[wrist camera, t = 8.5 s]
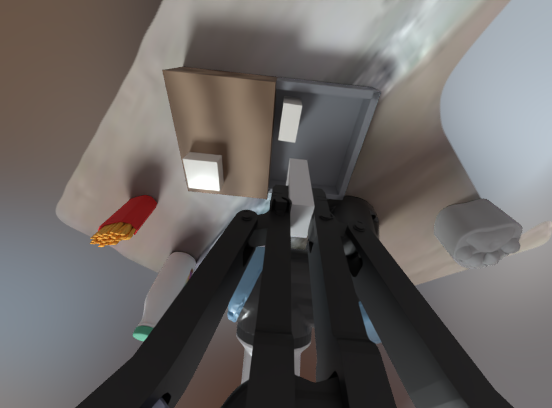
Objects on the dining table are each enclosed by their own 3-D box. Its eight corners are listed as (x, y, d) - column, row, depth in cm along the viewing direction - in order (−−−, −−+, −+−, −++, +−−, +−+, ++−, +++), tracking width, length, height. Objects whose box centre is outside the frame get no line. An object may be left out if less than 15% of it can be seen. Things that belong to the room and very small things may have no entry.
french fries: (135, 213, 48) (97, 253, 39) (123, 200, 46) (79, 239, 36) (165, 205, 46) (132, 246, 37) (153, 191, 44) (116, 231, 34)
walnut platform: (277, 77, 30) (275, 82, 25) (269, 181, 41) (266, 199, 36) (182, 66, 30) (162, 70, 25) (200, 174, 41) (188, 191, 36)
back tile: (221, 155, 31) (217, 162, 29) (223, 182, 34) (219, 190, 32) (189, 151, 31) (182, 158, 29) (194, 179, 34) (188, 187, 32)
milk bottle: (163, 254, 57) (115, 333, 41) (184, 248, 55) (142, 328, 39) (181, 269, 61) (144, 346, 46) (202, 264, 59) (170, 343, 43)
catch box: (371, 87, 30) (381, 91, 27) (338, 188, 41) (342, 200, 38) (277, 77, 30) (276, 80, 27) (269, 181, 41) (267, 192, 38)
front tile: (284, 95, 30) (300, 98, 30) (279, 129, 33) (294, 131, 34) (283, 102, 26) (302, 105, 27) (278, 140, 29) (295, 142, 30)
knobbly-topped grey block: (495, 195, 40) (538, 225, 33) (481, 238, 47) (514, 270, 40) (436, 208, 43) (464, 238, 36) (431, 247, 50) (454, 278, 43)
